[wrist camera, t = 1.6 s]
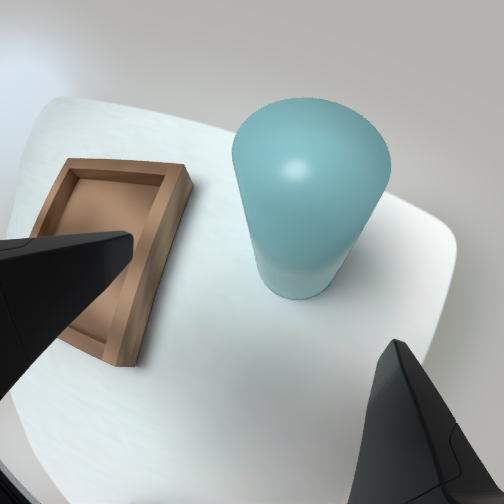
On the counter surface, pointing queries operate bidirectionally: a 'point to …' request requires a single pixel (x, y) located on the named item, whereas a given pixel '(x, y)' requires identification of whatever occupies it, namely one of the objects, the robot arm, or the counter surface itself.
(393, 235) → the counter surface
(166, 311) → the counter surface
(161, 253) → the tray
